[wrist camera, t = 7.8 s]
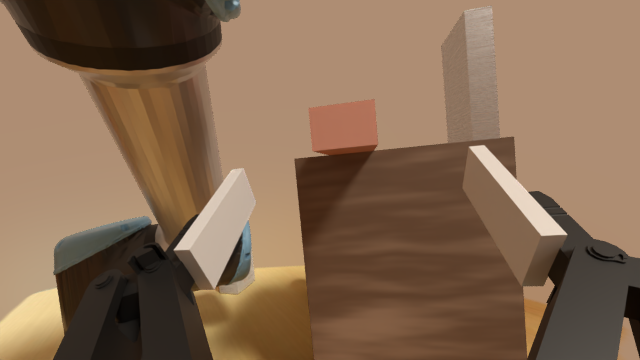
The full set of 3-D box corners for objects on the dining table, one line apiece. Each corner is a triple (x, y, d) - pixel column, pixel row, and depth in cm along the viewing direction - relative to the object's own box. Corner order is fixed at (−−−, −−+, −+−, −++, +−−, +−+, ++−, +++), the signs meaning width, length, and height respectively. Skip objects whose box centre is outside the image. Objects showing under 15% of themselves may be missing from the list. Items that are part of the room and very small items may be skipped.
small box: (238, 279, 73) (234, 242, 73) (255, 280, 72) (251, 242, 71) (218, 293, 66) (214, 252, 65) (237, 295, 64) (233, 252, 64)
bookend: (500, 138, 26) (491, 5, 26) (473, 141, 27) (464, 10, 26) (468, 144, 34) (462, 42, 34) (448, 146, 35) (441, 46, 34)
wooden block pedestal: (532, 445, 26) (513, 136, 24) (320, 428, 29) (294, 158, 28) (473, 347, 39) (460, 146, 38) (334, 343, 43) (317, 160, 42)
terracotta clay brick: (378, 144, 18) (374, 99, 18) (312, 151, 18) (308, 108, 18) (370, 155, 39) (369, 134, 39) (340, 158, 40) (338, 138, 40)
